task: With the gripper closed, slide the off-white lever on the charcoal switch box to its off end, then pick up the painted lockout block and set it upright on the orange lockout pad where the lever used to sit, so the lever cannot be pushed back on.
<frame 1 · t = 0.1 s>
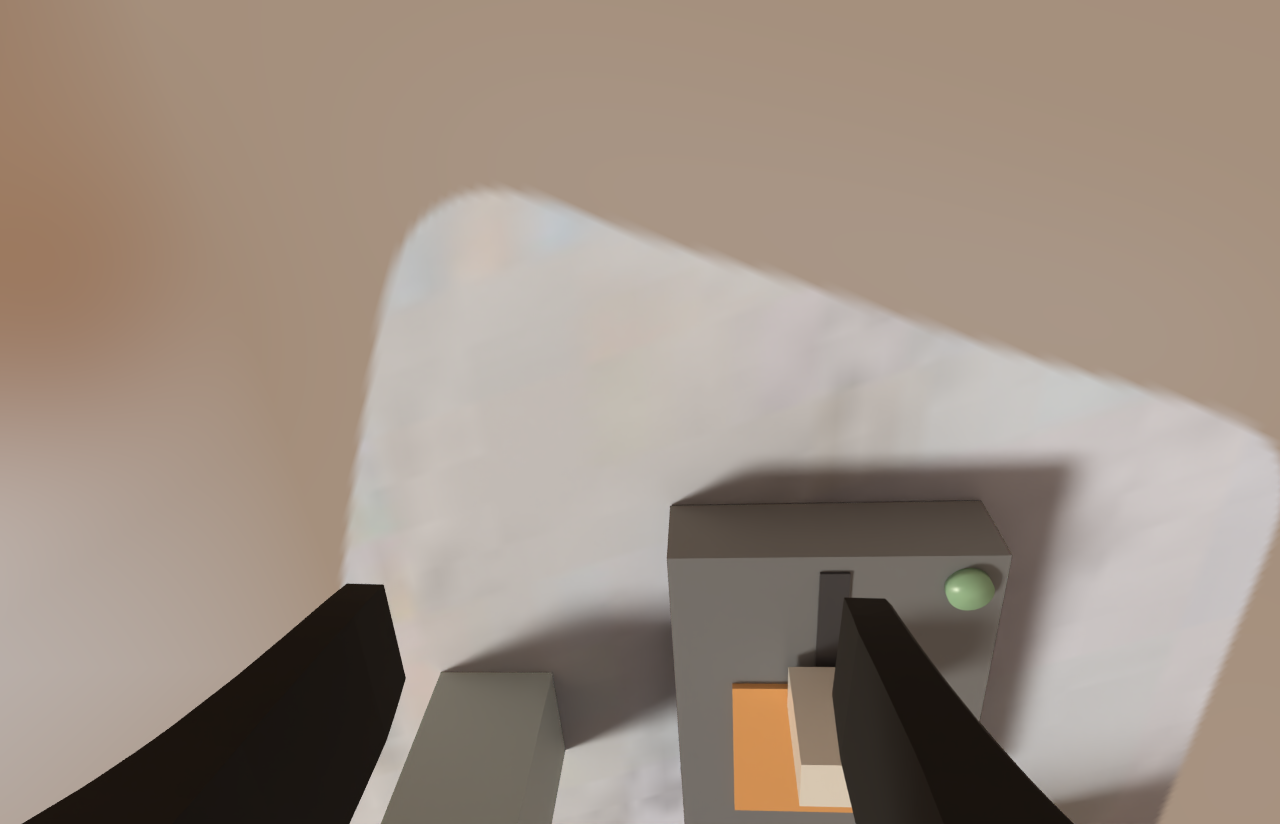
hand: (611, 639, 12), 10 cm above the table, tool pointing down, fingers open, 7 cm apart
lever: (838, 733, 21), point 4 cm above the table, slide at 0.0 cm
switch box: (815, 653, 25), on the table
lockout block: (504, 711, 28), on the table
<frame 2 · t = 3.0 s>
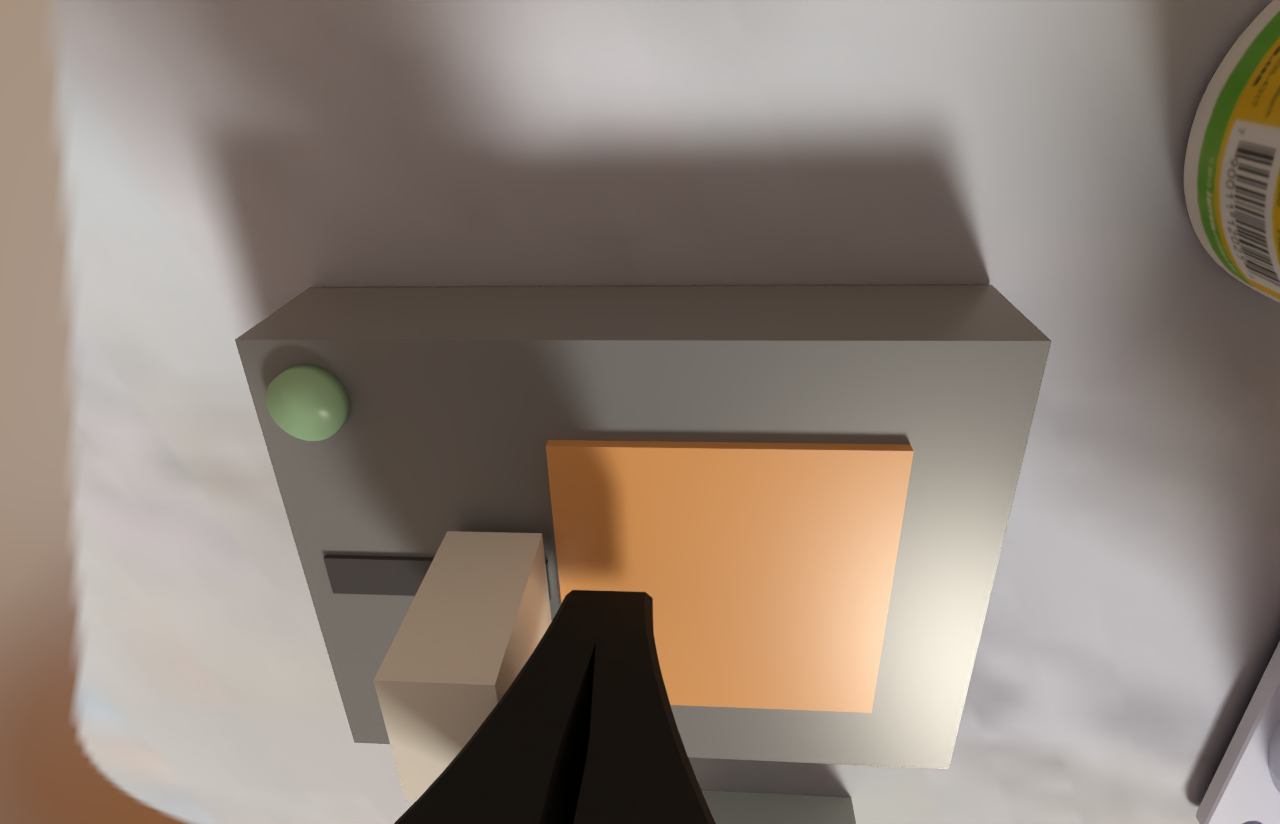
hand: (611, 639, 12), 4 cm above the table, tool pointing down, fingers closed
lever: (478, 657, 12), point 4 cm above the table, slide at 0.8 cm, touching gripper
switch box: (645, 499, 15), on the table
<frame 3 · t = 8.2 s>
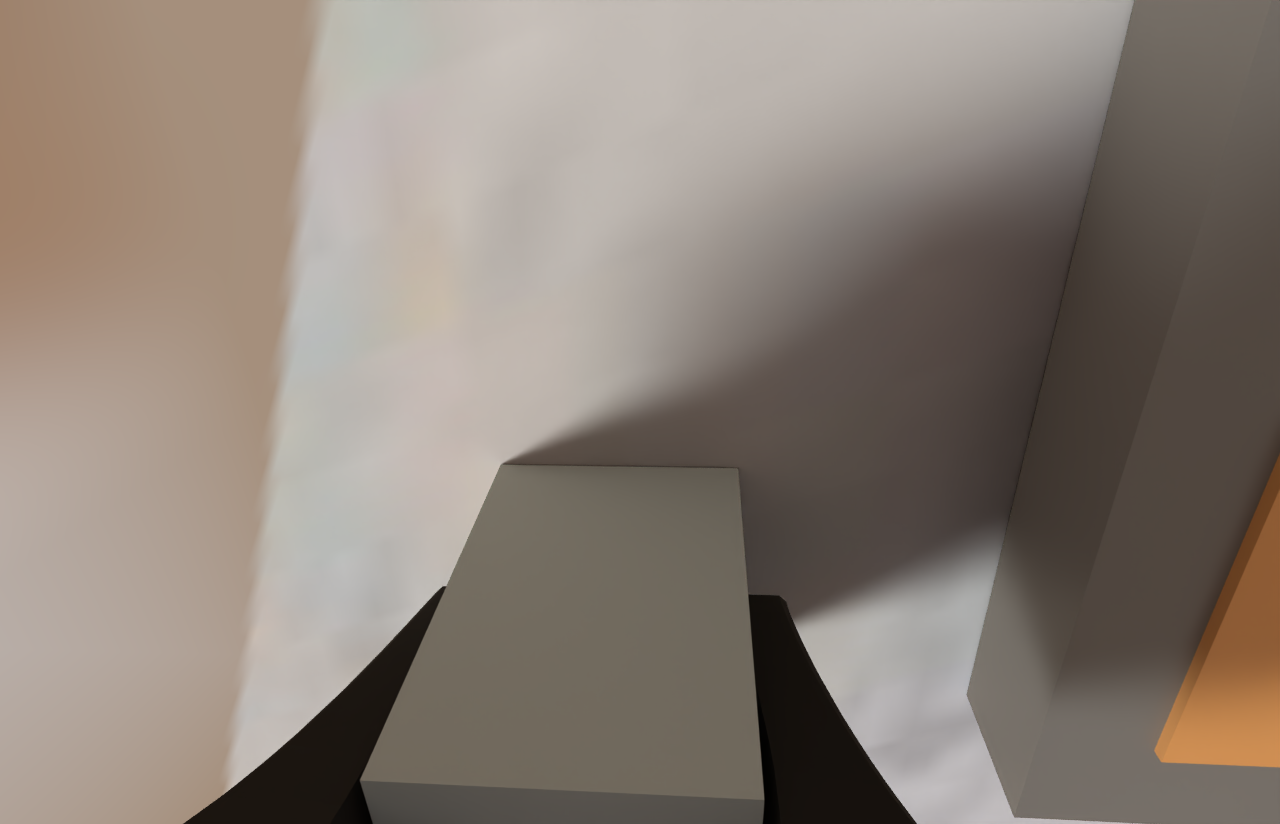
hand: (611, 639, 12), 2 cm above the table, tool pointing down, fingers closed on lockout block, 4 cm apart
lockout block: (622, 561, 14), on the table, touching gripper
when the fingers open (6 cm above the table, at t = 12.3 s): lockout block stays where it is, resting on switch box.
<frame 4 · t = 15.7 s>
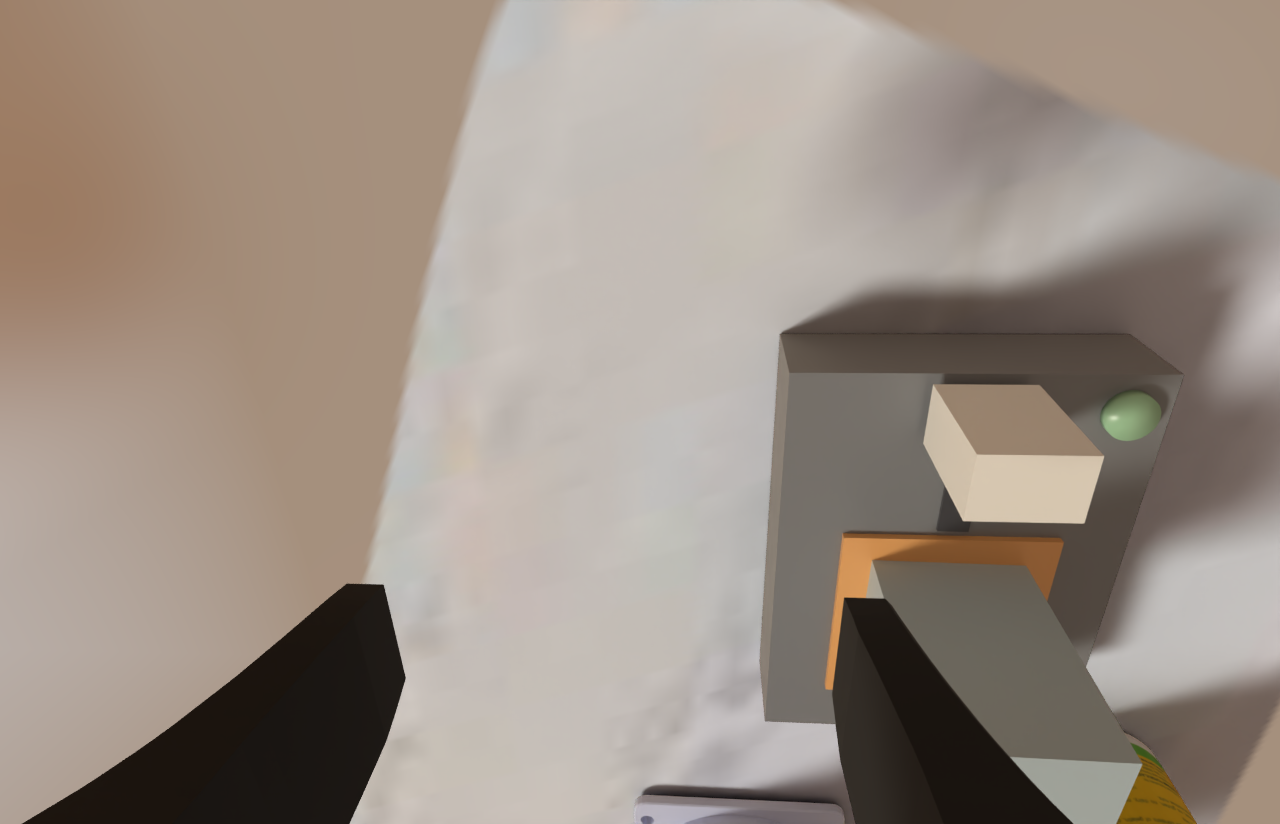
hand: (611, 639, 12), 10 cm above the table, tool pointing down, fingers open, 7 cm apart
lever: (1003, 449, 17), point 4 cm above the table, slide at 3.6 cm
switch box: (919, 520, 23), on the table
supplement bottle: (1071, 767, 28), on the table
lockout block: (935, 619, 21), point 3 cm above the table, touching switch box
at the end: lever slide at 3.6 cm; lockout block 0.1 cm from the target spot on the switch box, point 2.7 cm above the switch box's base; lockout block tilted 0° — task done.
